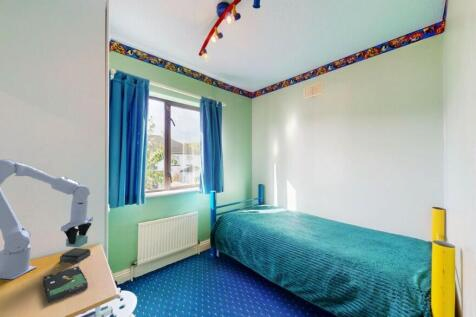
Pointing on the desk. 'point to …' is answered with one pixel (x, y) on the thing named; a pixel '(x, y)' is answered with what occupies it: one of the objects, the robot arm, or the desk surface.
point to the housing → (78, 241)
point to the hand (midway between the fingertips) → (76, 241)
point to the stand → (75, 255)
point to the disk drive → (64, 283)
